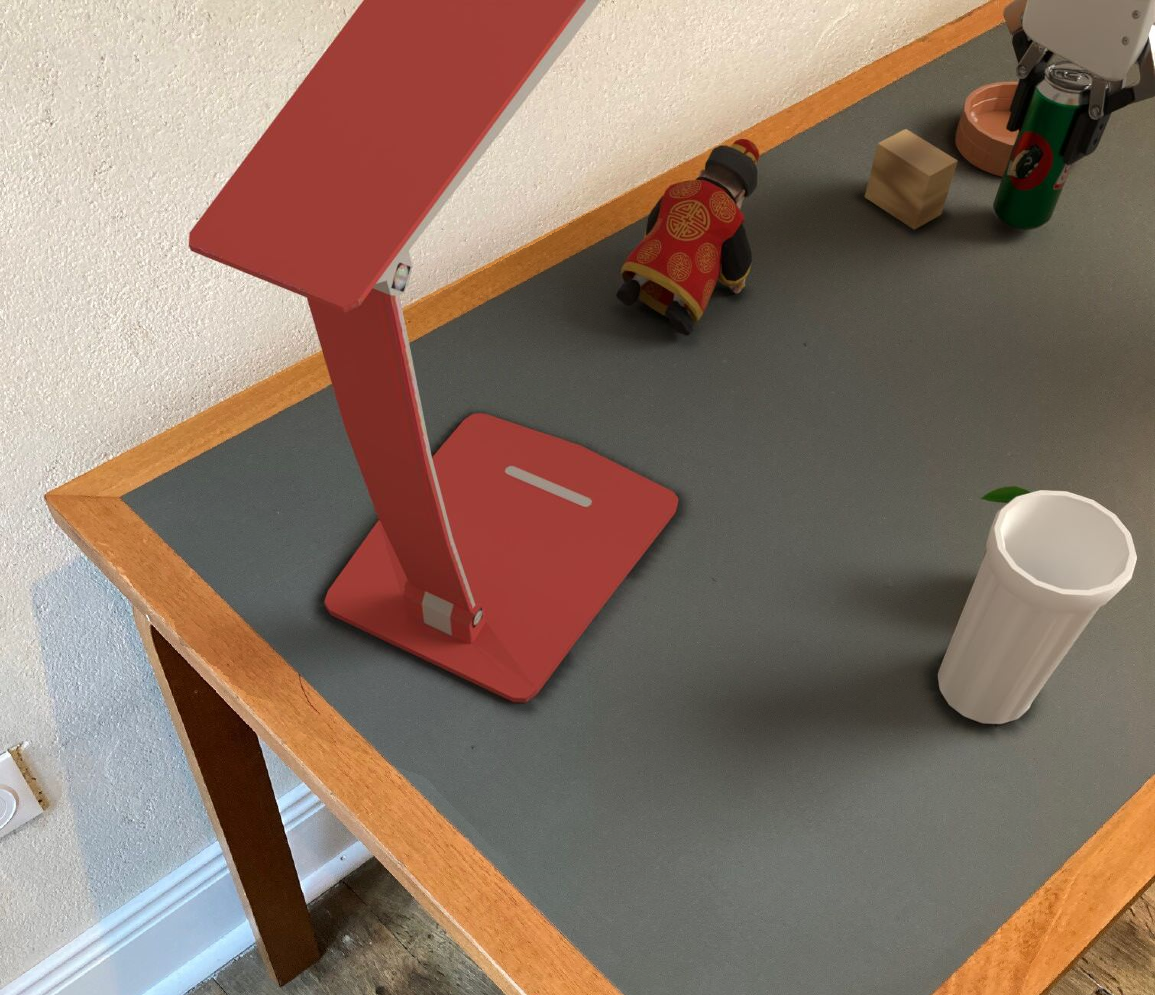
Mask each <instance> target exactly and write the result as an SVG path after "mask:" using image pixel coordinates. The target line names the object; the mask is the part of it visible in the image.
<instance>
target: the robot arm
mask: <svg viewBox="0 0 1155 995" xmlns="http://www.w3.org/2000/svg"><path fill="white" fill-rule="evenodd" d="M1002 16H1003V19H1004V22H1005V24H1006V26H1007V29H1008V32H1009V34H1010V35H1011V36H1012V38H1011V45H1012V47H1013V51H1014V54H1015V58H1016V61H1017V65H1016V67H1015V75H1016V77H1017V78H1018V81H1017V82H1018V85H1017V88H1016V91H1015V94H1014V97H1013V100H1012V103H1011V106H1010V112H1011V114H1010V117H1009V120H1008V123H1007V126H1006V129H1007V130H1009V131H1010V132H1013V131H1014V132H1015V131H1017V130H1019V128H1020V125H1021V123H1022V120H1023V117H1024V114H1025V111H1026V108H1027V105H1028V103H1029V100H1030V97H1031V94H1032V91H1033V88H1034V85H1035V83H1036V81H1037V79H1038V78H1039V77H1040V76H1041V75H1043V74H1044V71H1045V69H1046V68H1047V66H1048V65H1050V64H1051V63H1052V60H1053V59H1055V56H1056V55H1057V56H1059V57H1060V58H1062V59H1064V60H1065V61H1069V62H1071V63H1073V64H1075V65H1077V66H1079V67H1081V68H1082V69H1084V70H1086V71H1088V72H1090V73H1092V74H1093V78H1092V86H1091V94H1090V101H1089V108H1088V110H1087V111H1086V112H1084V113H1082V114H1081V115H1080V116H1079V117H1078V119H1077V122H1076V125H1075V127H1074V130H1073V132H1072V135H1071V137H1070V140H1069V143H1068V145H1067V148H1066V150H1065V153H1064V155H1063V158H1062V160H1063V163H1065V164H1067V165H1071V164H1072V165H1073V164H1074V163H1076V162H1078V161H1080V160H1081V159H1083V158H1085V157H1087V156H1089V155H1091V154H1093V153H1094V152H1095V151H1096V149H1097V148H1098V147H1099V145H1100V142H1101V140H1102V138H1103V135H1104V132H1105V130H1106V127H1107V125H1108V123H1109V120H1110V118H1111V115H1112V113H1113V112H1116V111H1119V110H1120V109H1123V108H1125V107H1128V105H1132V104H1135V103H1139V102H1142V101H1145V100H1148V99H1151V98H1154V97H1155V0H1012V1H1011V2H1010V3H1009V4H1008V5H1006V6H1005V7H1004V8H1003V11H1002ZM1134 65H1137V66H1138V70H1139V76H1140V77H1139V78H1140V79H1139V81H1137V82H1133V83H1130V84H1129V85H1127V78H1128V74H1129V72H1130V69H1131V67H1132V66H1134ZM1126 85H1127V86H1126Z"/></svg>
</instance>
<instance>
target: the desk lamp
mask: <svg viewBox="0 0 1155 995" xmlns="http://www.w3.org/2000/svg"><path fill="white" fill-rule="evenodd" d="M601 1H602V0H362V1H361V3H360V4H359V6H357V8H356V10H355V11H354V12H353V14H352V15H351V16H350V18H349V19H348V20H347V21H346V23H345V24H344V26H343V27H342V28H341V29H340V31H339V32H338V33H337V35H336V36H335V38H334V39H333V40H332V42H331V43H330V44H329V46H328V47H327V48H326V50H325V51H324V52H323V54H322V55H321V57H320V58H319V59H318V60H317V61H316V63H315V64H314V65H313V67H312V69H311V70H310V71H309V72H308V74H306V76H305V78H304V79H303V80H302V82H301V83H300V84H299V86H298V87H297V88H296V90H295V91H294V92H293V94H292V95H291V97H290V98H288V101H287V102H286V103H285V104H284V106H283V107H282V108H281V109H280V111H279V112H278V114H277V115H276V116H275V118H274V119H273V121H272V122H271V123H270V124H269V126H268V127H267V128H266V129H265V131H264V132H263V133H262V135H261V136H260V137H259V139H258V141H257V142H256V143H255V145H254V146H253V147H252V149H251V150H250V151H249V152H248V154H247V155H246V157H245V158H244V159H243V161H242V162H241V163H240V165H239V166H238V167H237V168H236V169H235V171H234V172H233V173H232V175H231V176H230V178H229V179H228V180H227V182H226V183H225V184H224V185H223V187H222V188H221V190H220V191H219V193H217V195H216V196H215V198H214V199H213V200H212V202H211V203H210V205H208V207H207V208H206V210H205V211H204V212H203V214H202V215H201V217H200V218H199V219H198V221H196V223H195V225H194V226H193V227H192V229H191V230H190V231H189V235H188V247H189V249H190V251H191V252H192V253H195V254H197V255H200V256H202V257H205V258H207V259H210V260H212V261H215V262H217V263H220V264H222V265H224V266H227V267H230V268H232V269H234V270H237V271H239V272H242V273H245V274H247V275H250V276H252V277H255V278H256V279H259V280H262V281H265V282H267V283H269V284H272V285H274V286H277V287H280V288H282V289H284V290H287V291H289V292H291V293H295V294H297V295H299V296H301V297H304V298H306V300H307V304H308V307H309V310H310V314H311V317H312V320H313V324H314V328H315V332H316V334H317V338H318V341H319V344H320V348H321V352H322V354H323V358H324V362H325V365H326V369H327V372H328V375H329V378H330V379H329V380H330V382H331V385H332V389H333V393H334V396H335V400H336V402H337V403H336V404H337V406H338V410H339V414H340V416H341V419H342V420H341V421H342V423H343V427H344V430H345V433H346V435H347V438H348V440H349V443H350V446H351V449H352V452H353V454H354V457H355V459H356V462H357V465H358V468H359V470H360V473H361V476H362V478H363V481H364V484H365V486H366V489H367V491H368V495H369V497H370V500H371V502H372V506H373V508H374V510H375V513H376V515H377V518H378V521H377V522H376V523H375V525H374V526H373V527H372V529H371V530H370V532H369V533H368V534H367V535H366V537H365V539H364V540H363V541H362V543H361V544H360V545H359V547H358V548H357V550H356V551H355V552H354V554H353V555H352V557H351V558H350V560H348V563H347V564H346V565H345V567H344V568H343V569H342V571H341V572H340V573H339V575H338V576H337V577H336V579H335V581H334V582H333V583H332V585H331V586H330V587H329V589H328V590H327V593H326V595H325V598H324V606H325V609H326V610H327V612H328V613H329V614H330V616H332V617H334V618H336V619H338V620H341V621H343V622H344V623H347V624H348V625H351V626H353V627H355V628H357V629H360V630H362V631H363V632H366V633H368V634H369V635H372V636H374V637H376V638H378V639H380V640H382V641H384V642H387V643H389V644H390V645H393V646H395V647H397V648H399V649H401V650H403V651H406V652H407V653H410V654H411V655H414V656H416V657H418V658H420V659H422V660H424V661H426V662H429V663H431V664H433V665H435V666H437V667H439V668H441V669H443V670H445V671H448V672H450V673H451V674H454V675H456V676H458V677H460V678H462V679H464V680H465V681H468V682H470V683H472V684H474V685H477V686H479V687H481V688H483V689H485V690H487V691H489V692H491V693H493V694H495V695H497V696H500V697H501V698H504V699H506V700H508V701H510V702H512V703H527V702H529V701H530V700H532V699H533V698H534V697H536V696H537V695H538V694H539V693H540V691H541V690H542V688H543V687H544V686H545V684H546V683H547V681H548V680H549V679H550V677H551V676H552V675H553V673H554V672H555V671H556V669H557V668H558V667H559V665H560V664H561V663H562V661H563V660H564V659H565V658H566V656H567V655H568V653H569V652H570V650H571V649H572V648H573V647H574V645H575V644H576V643H577V642H578V640H579V639H580V638H581V636H582V635H583V633H584V632H585V630H587V628H588V627H589V625H590V624H591V623H592V621H593V620H594V618H595V617H597V615H598V613H599V612H600V611H601V610H602V609H603V607H604V606H605V604H606V603H607V602H608V601H609V599H610V598H611V596H612V595H613V594H614V593H615V592H616V591H617V589H618V588H619V587H620V585H621V584H622V582H623V581H624V580H625V578H626V577H627V576H628V574H630V572H631V571H632V570H633V568H634V567H635V565H636V564H637V563H638V562H639V561H640V559H641V558H642V557H643V555H644V554H645V553H646V551H648V549H649V548H650V546H651V545H652V544H653V542H655V540H656V538H657V537H658V536H659V535H660V533H661V532H662V531H663V530H664V528H665V527H666V526H667V525H668V523H669V522H670V520H671V519H673V516H674V515H675V513H676V512H677V509H678V505H679V497H678V496H677V495H676V493H675V492H674V491H673V490H671V489H669V488H668V487H665V486H663V485H661V484H659V483H657V482H655V481H653V480H651V479H649V478H647V477H645V476H644V475H643V476H642V475H641V474H639V473H637V472H635V471H633V470H631V469H628V468H627V467H625V466H622V465H621V464H619V463H618V462H614V461H613V460H611V459H609V458H607V457H605V456H603V455H601V454H599V453H597V452H595V451H593V450H591V449H589V448H586V447H585V446H583V445H580V444H577V443H574V442H572V441H569V440H565V439H562V438H559V437H556V436H553V435H551V434H547V433H544V432H541V431H539V430H536V429H532V428H529V427H527V426H524V425H520V424H517V423H514V422H511V421H508V420H505V419H502V418H499V417H496V416H494V415H491V414H487V413H484V412H483V413H482V412H481V413H472V414H471V415H468V417H466V418H465V419H463V420H462V422H461V423H459V425H458V426H457V428H456V429H455V430H454V431H453V432H452V433H451V434H450V435H449V437H448V438H447V439H446V441H445V442H444V443H443V444H442V445H441V446H440V448H439V449H438V450H437V451H436V452H435V454H433V456H432V452H431V446H430V442H429V437H428V436H429V435H428V432H427V426H426V421H425V416H424V412H423V407H422V406H423V405H422V402H421V397H420V391H419V386H418V381H417V376H416V372H415V366H414V361H413V355H412V352H411V347H410V341H409V336H408V331H407V325H406V321H405V317H404V316H405V315H404V312H403V307H402V300H401V297H402V296H403V294H404V293H405V291H406V290H407V288H408V287H409V285H410V280H411V275H412V270H413V261H412V258H411V254H410V250H411V249H412V247H413V246H414V245H415V243H417V241H418V240H419V238H420V237H421V236H422V235H423V233H424V232H425V231H426V229H427V228H428V227H429V225H430V224H431V223H432V222H433V220H434V219H435V218H436V216H438V214H439V212H440V211H441V210H442V209H443V207H444V206H445V205H446V204H447V202H448V201H449V200H450V198H451V197H452V196H453V195H454V193H455V192H456V191H457V189H458V188H459V186H461V184H462V183H463V181H464V180H465V179H466V177H467V176H468V175H469V174H470V172H471V171H472V170H473V169H474V167H475V166H476V164H477V163H478V162H479V161H480V160H481V158H482V157H483V156H484V154H485V153H486V152H487V151H488V150H489V148H490V147H491V145H492V144H493V143H494V141H495V140H496V139H497V138H498V136H499V135H500V133H501V132H502V131H503V130H504V128H505V127H506V126H507V124H508V123H509V122H510V121H511V119H512V118H513V117H514V116H515V114H516V113H517V112H518V110H519V109H520V108H521V107H522V106H523V104H524V102H525V101H526V100H527V99H528V97H529V96H530V95H531V94H532V92H533V91H534V90H535V89H536V87H537V86H538V84H539V83H540V82H541V81H542V79H543V78H544V77H545V75H546V74H547V73H548V71H550V69H551V68H552V66H553V65H554V64H555V62H556V61H557V60H558V59H559V57H560V56H562V53H563V52H564V51H565V50H566V49H567V47H568V46H569V44H570V43H571V42H572V40H573V39H574V38H575V36H576V35H577V34H578V32H579V31H580V29H581V28H582V27H583V25H585V23H586V21H587V20H588V19H589V17H590V16H591V15H592V14H593V12H594V11H595V10H596V8H597V7H598V5H599V4H600V2H601Z"/></svg>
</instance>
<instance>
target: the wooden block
mask: <svg viewBox="0 0 1155 995" xmlns="http://www.w3.org/2000/svg"><path fill="white" fill-rule="evenodd" d="M958 162H959V161H958V159H956V158H954V157H952V156H951V155H950V154H948V153H946V152H944V151H942V150H941V149H940V148H938V147H936V146H935V145H934V144H932V143H930V142H928V141H927V140H925V139H923V138H922V137H920V136H919V135H917V134H915V133H914V132H912V131H910V130H909V129H907V128H905V129H902V130H901V131H898V132H897V133H895V134H893V135H891V136H889V137H887V138H885V139H884V140H881V141H879V142H877V145H876V149H875V153H874V157H873V161H872V164H871V165H872V166H871V169H870V173H869V178H868V181H867V186H866V189H865V194H864V198H865V199H866V200H868V201H870V202H871V203H873V204H874V205H875V206H877V207H878V208H880V209H882V210H883V211H885V212H886V213H888V214H890V215H891V216H892V217H894V218H895V219H897V220H898V221H900V222H902V223H903V224H905V225H906V226H907V227H909V228H911V229H912V230H914V231H915V230H916V229H918V228H920V227H922V226H923V225H926V224H927V223H929V222H930V221H933V220H935V219H936V218H938V217H939V216H941V215H942V213H943V211H944V207H945V204H946V202H947V201H946V200H947V197H948V194H949V191H950V187H951V184H952V181H953V178H954V175H955V171H956V168H957V165H958Z"/></svg>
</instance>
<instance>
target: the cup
mask: <svg viewBox="0 0 1155 995" xmlns="http://www.w3.org/2000/svg"><path fill="white" fill-rule="evenodd" d="M986 549H987V552H986V554H985V553H984V554H985V557H984V556H983V558H984V559H983V558H982V561H981V564H980V567H979V569H978V572H977V574H976V577H975V579H974V582H973V584H972V587H971V588H970V592H969V594H968V596H967V599H966V601H965V604H964V606H963V609H962V612H961V614H960V615H959V616H960V617H959V619H958V621H957V624H956V625H955V626H956V627H955V630H954V632H953V634H952V636H951V639H950V642H949V644H948V646H947V649H946V651H945V654H944V657H943V659H942V661H941V663H940V667H939V668H938V673H937V681H938V687H939V691H940V693H941V695H942V696H943V698H944V699H945V701H946V702H947V704H948V706H950V707H951V708H952V709H953V710H955V711H956V712H957V713H959V714H960V715H961V716H963V717H965V718H967V719H970V720H973V721H976V722H978V723H980V724H991V725H1003V724H1007V723H1009V722H1012V721H1015V720H1019V718H1021V717H1022V716H1023V715H1024V714H1025V713H1026V712H1027V711H1028V710H1029V709H1030V708H1031V706H1032V703H1033V702H1034V701H1035V699H1036V698H1037V696H1038V695H1039V693H1040V692H1041V691H1042V689H1043V688H1044V687H1045V684H1046V683H1047V681H1048V680H1049V679H1050V677H1051V676H1052V675H1053V673H1054V672H1055V670H1056V669H1057V668H1058V666H1059V665H1060V663H1061V662H1062V661H1063V659H1064V658H1065V657H1066V656H1067V654H1068V653H1069V651H1070V650H1071V648H1072V647H1073V646H1074V644H1075V643H1076V641H1077V639H1078V638H1079V637H1080V636H1081V635H1082V633H1083V631H1084V630H1085V629H1086V628H1087V626H1088V624H1089V623H1090V621H1091V620H1092V619H1093V617H1094V616H1095V615H1096V614H1097V612H1098V611H1099V609H1100V607H1104V606H1105V605H1106V604H1107V603H1108V602H1110V600H1112V599H1113V598H1114V597H1115V596H1116V595H1117V594H1119V592H1120V591H1121V590H1122V589H1123V588H1124V587H1126V585H1127V584H1128V583H1129V582H1130V581H1131V580H1132V578H1133V575H1134V570H1135V567H1136V563H1137V560H1138V557H1137V552H1136V547H1135V545H1134V540H1133V537H1132V533H1131V532H1130V530H1129V529H1127V527H1126V526H1125V525H1124V523H1123V522H1122V521H1121V520H1120V518H1119V517H1118V515H1116V514H1115V513H1113V512H1112V511H1110V510H1109V509H1107V507H1104V506H1103V505H1101V504H1100V503H1099V502H1097V501H1096V500H1094V499H1091V498H1088V497H1085V496H1083V495H1079V494H1076V493H1073V492H1070V491H1067V490H1066V491H1065V490H1044V489H1041V490H1040V489H1039V490H1036V491H1031V493H1028V494H1025V495H1021V496H1017V497H1015V498H1014V499H1012V500H1011V501H1010V502H1009V503H1005V505H1003V506H1002V507H1001V508H1000V509H999V510H997V511H996V513H995V516H994V519H993V521H992V524H991V526H990V528H989V531H988V535H987V540H986V544H985V550H986Z"/></svg>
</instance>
